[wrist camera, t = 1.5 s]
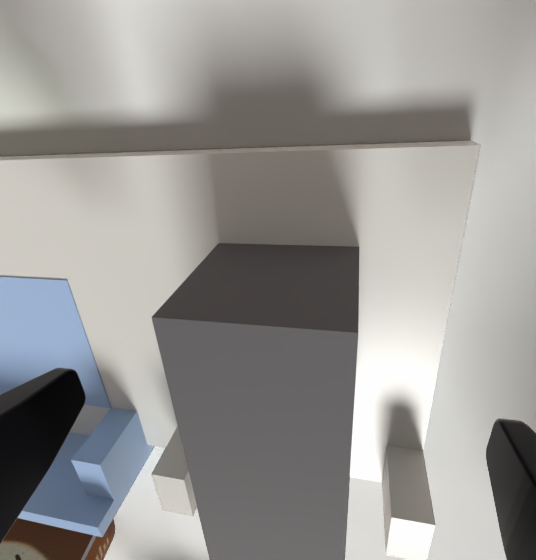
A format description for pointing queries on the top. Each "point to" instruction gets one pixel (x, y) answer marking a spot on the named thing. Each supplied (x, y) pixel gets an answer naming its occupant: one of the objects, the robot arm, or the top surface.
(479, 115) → the top surface
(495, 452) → the robot arm
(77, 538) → the food container
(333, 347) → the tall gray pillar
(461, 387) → the top surface
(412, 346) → the miniature room diorama
